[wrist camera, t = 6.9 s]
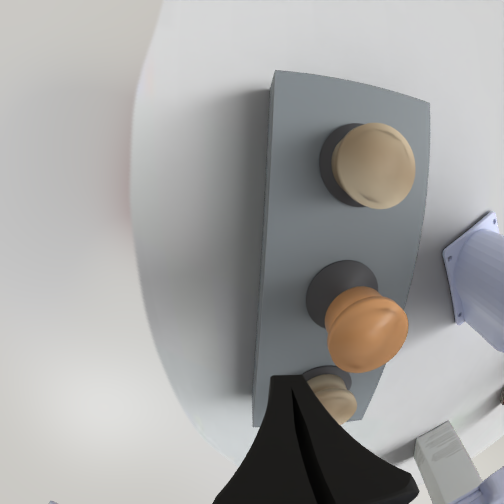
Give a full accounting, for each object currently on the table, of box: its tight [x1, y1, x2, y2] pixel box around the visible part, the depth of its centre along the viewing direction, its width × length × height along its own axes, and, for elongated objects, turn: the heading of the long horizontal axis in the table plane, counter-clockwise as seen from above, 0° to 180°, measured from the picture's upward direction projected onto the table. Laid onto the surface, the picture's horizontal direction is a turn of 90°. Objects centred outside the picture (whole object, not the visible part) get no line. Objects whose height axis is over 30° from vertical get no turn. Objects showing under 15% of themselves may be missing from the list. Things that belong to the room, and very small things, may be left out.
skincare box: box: [414, 421, 483, 504], centre depth 22 cm, size 8×7×16 cm
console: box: [252, 70, 430, 427], centre depth 18 cm, size 26×10×4 cm, turn 177°
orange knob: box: [325, 286, 408, 373], centre depth 13 cm, size 4×4×2 cm
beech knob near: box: [331, 123, 416, 209], centre depth 13 cm, size 4×4×2 cm
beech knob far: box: [307, 374, 357, 425], centre depth 18 cm, size 4×4×2 cm
